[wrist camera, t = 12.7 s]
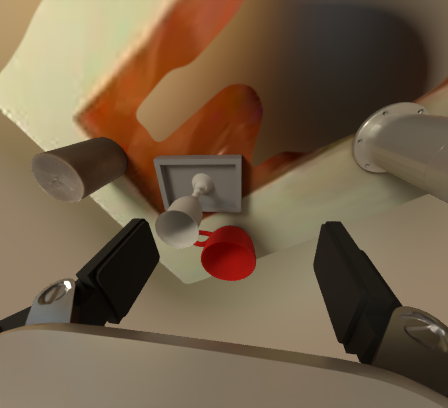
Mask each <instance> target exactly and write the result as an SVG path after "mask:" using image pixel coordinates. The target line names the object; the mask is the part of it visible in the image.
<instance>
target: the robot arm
mask: <svg viewBox="0 0 448 408" xmlns="http://www.w3.org/2000/svg"><path fill="white" fill-rule="evenodd" d="M383 112H384V113H383ZM358 140H359V141H358ZM352 154H353V157H354V160H355V161H356V163H357V164H358V165H359V166H360V167H362V168H363V169H365V170H367V171H370V172H375V173H384V172H389V173H391V174H393V175H395V176H397V177H399V178H401V179H403V180H404V181H406V182H408V183H410V184H412V185H414V186H416V187H418V188H420V189H422V190H423V191H425V192H427V193H429V194H431V195H433V196H435V197H437V198H439V199H441V200H443V201H445V202H447V203H448V117H446V116H435V115H431V114H430V112H429V111H428V110H427V109H426V108H425V107H423V106H422V105H419V104H416V103H408V102H405V103H396V104H392V105H389V106H386V107H384V108H382V109H380V110H379V111H377V112H375V113H374V114H373V115H371V116H370V117H369V118H368V119H367V120H366V121H365V122H364V123H363V124H362V125H361V127H360V128H359V129H358V131H357V133H356V135H355V138H354V140H353V145H352ZM159 259H160V255H159V252H158V249H157V246H156V244H155V241H154V238H153V235H152V232H151V229H150V226H149V223H148V222H147V221H146V220H145V219H138V218H135V219H132V220H131V221H130V222H129V223H128V224H127V225H126V226H125V227H124V228H123V229H122V230H121V231H120V232H119V233H118V234H117V235H116V236H115V237H114V238H113V239H112V240H111V241H109V242H108V243H107V244H106V245H105V246H104V247H103V248H102V249H101V250H100V251H99V252H98V253H97V254H96V255H95V256H94V257H93V258H92V259H91V260H90V261H89V262H88V263H87V264H86V265H85V266H84V267H83V268H82V269H81V270H80V271H79V272H78V273H77V274H76V276H77V277H78V280H77V281H76V282H75V281H74V280H73V279H70V278H67V279H62V280H59V281H56V282H54V283H52V284H50V285H49V286H47V287H46V288H44V290H42V291H41V292H40V293H39V294H38V295H37V296H36V297H35V299H34V301H33V304H32V306H30V307H28V308H26V309H24V310H22V311H20V312H17V313H15V314H13V315H11V316H9V317H7V318H5V319H3V320H0V408H448V327H447V326H446V325H445V324H443V323H442V322H441V321H440V320H438V319H437V318H435V317H434V316H432V315H430V314H429V313H427V312H424V311H422V310H420V309H416V308H413V307H408V306H402V305H401V303H400V302H399V300H398V299H397V297H396V296H395V295H394V293H393V292H392V290H391V289H390V287H389V286H388V285H387V283H386V282H385V280H384V279H383V277H382V276H381V275H380V273H379V272H378V270H377V269H376V268H375V266H374V265H373V263H372V262H371V260H370V259H369V258H368V256H367V255H366V253H365V252H364V251H362V250H360V249H359V248H358V246H357V245H356V243H355V242H354V240H353V239H352V238H351V236H350V235H349V233H348V232H347V230H346V229H345V227H344V226H343V224H342V223H341V222H337V221H327V222H326V223H325V224H322V226H321V230H320V235H319V239H318V244H317V249H316V254H315V259H314V265H313V266H314V272H315V275H316V278H317V280H318V284H319V286H320V290H321V293H322V296H323V298H324V302H325V304H326V307H327V311H328V314H329V317H330V320H331V322H332V325H333V328H334V331H335V334H336V337H337V340H338V342H339V343H342V344H343V345H344V348H345V351H346V353H350V354H357V357H358V359H359V362H361V363H358V362H352V361H347V360H343V359H337V358H331V357H324V356H318V355H312V354H305V353H299V352H292V351H285V350H278V349H271V348H264V347H256V346H249V345H242V344H234V343H227V342H219V341H211V340H205V339H197V338H189V337H182V336H174V335H166V334H159V333H151V332H143V331H135V330H127V329H119V328H111V327H105V326H104V325H105V323H106V322H107V321H108V322H109V323H114V324H119V323H120V321H121V320H122V318H123V317H125V316H126V315H127V313H128V312H129V310H130V308H131V307H132V305H133V303H134V302H135V300H136V298H137V297H138V295H139V293H140V292H141V290H142V288H143V287H144V285H145V283H146V282H147V280H148V278H149V277H150V275H151V273H152V272H153V270H154V268H155V267H156V265H157V263H158V262H159Z"/></svg>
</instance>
